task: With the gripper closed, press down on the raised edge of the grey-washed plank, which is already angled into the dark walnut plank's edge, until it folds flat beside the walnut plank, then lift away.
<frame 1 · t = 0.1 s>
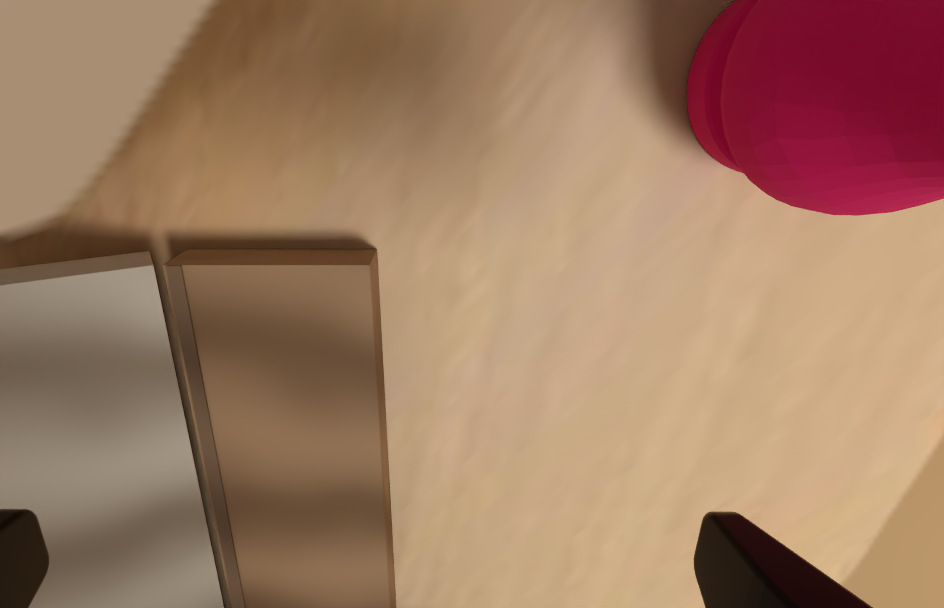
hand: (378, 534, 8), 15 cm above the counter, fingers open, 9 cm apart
pepper mill: (771, 81, 20), on the counter
grey plank: (106, 538, 22), point 3 cm above the counter, hinge at 30.0°
walnut plank: (310, 487, 25), on the counter
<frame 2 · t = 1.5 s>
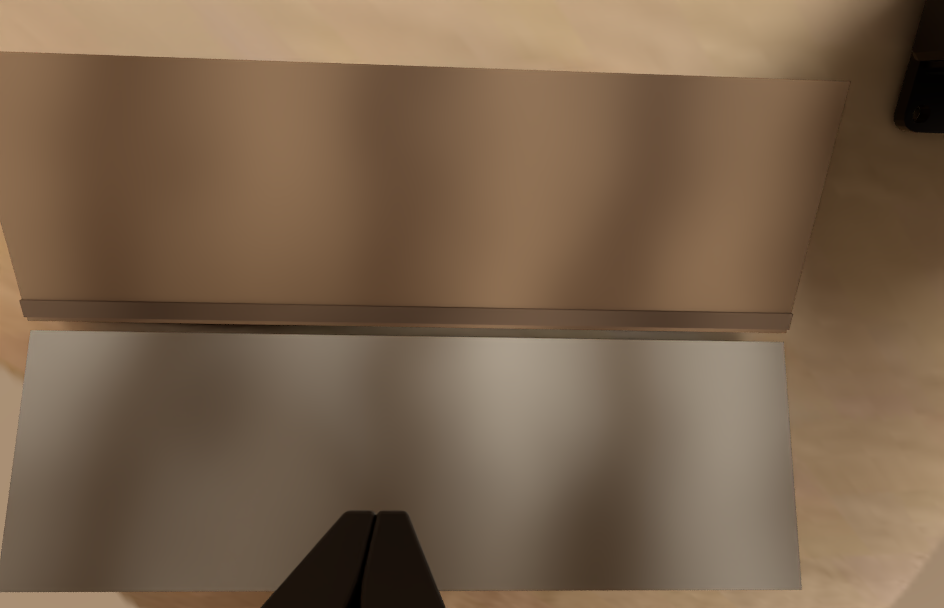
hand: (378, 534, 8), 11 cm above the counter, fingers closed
grey plank: (416, 455, 17), point 3 cm above the counter, hinge at 30.0°
walnut plank: (420, 194, 17), on the counter
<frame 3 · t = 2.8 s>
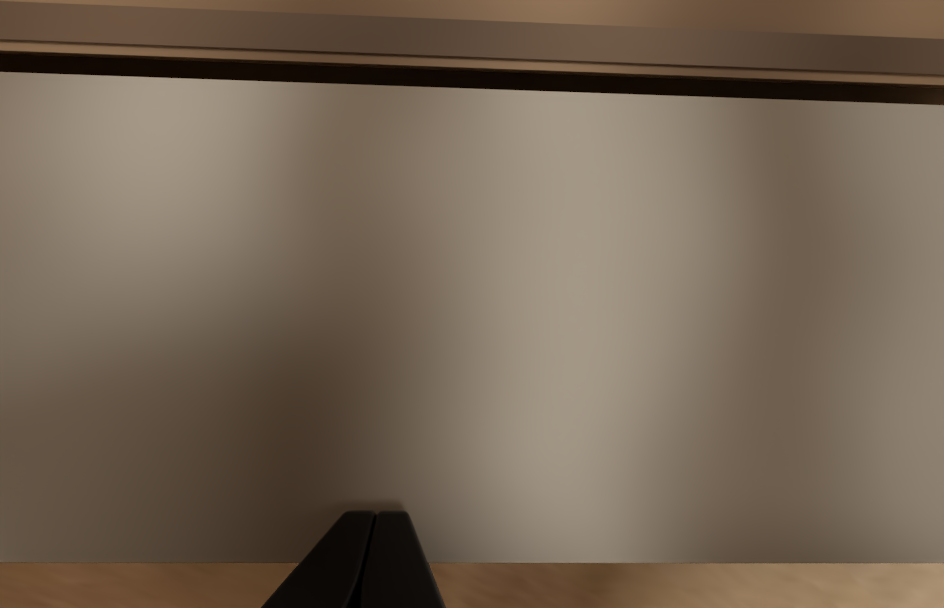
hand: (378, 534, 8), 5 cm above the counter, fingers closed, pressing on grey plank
grey plank: (392, 317, 9), point 3 cm above the counter, hinge at 30.0°, touching gripper
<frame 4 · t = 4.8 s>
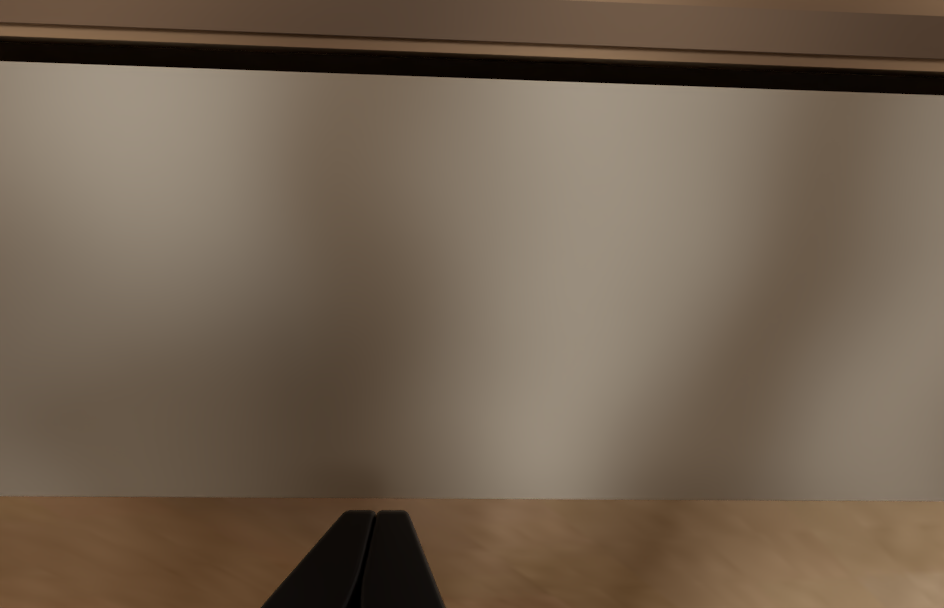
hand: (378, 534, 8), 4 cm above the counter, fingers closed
grey plank: (401, 295, 10), point 1 cm above the counter, hinge at -0.6°
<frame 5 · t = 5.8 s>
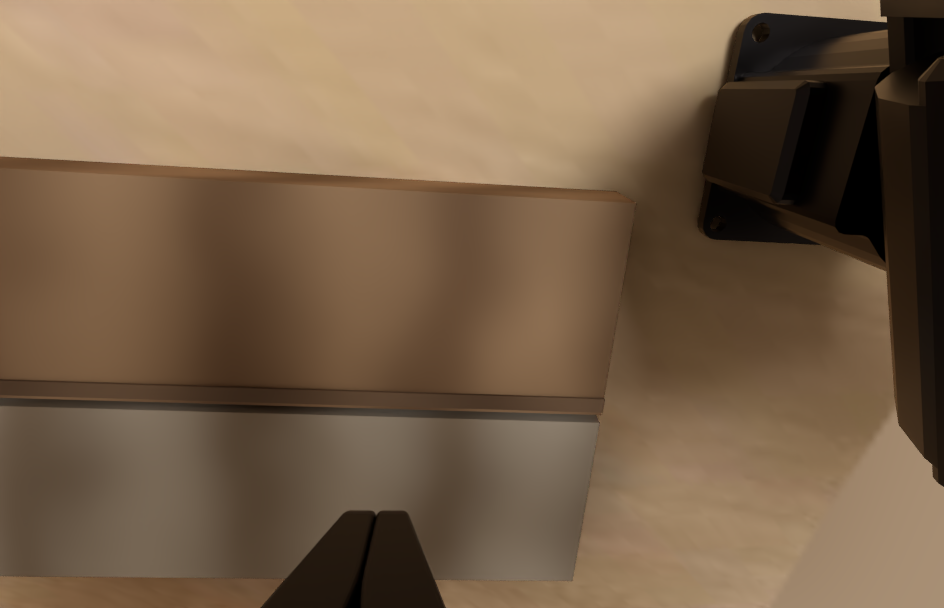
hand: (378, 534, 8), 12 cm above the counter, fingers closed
grey plank: (276, 482, 20), point 1 cm above the counter, hinge at -0.6°
walnut plank: (270, 280, 18), on the counter
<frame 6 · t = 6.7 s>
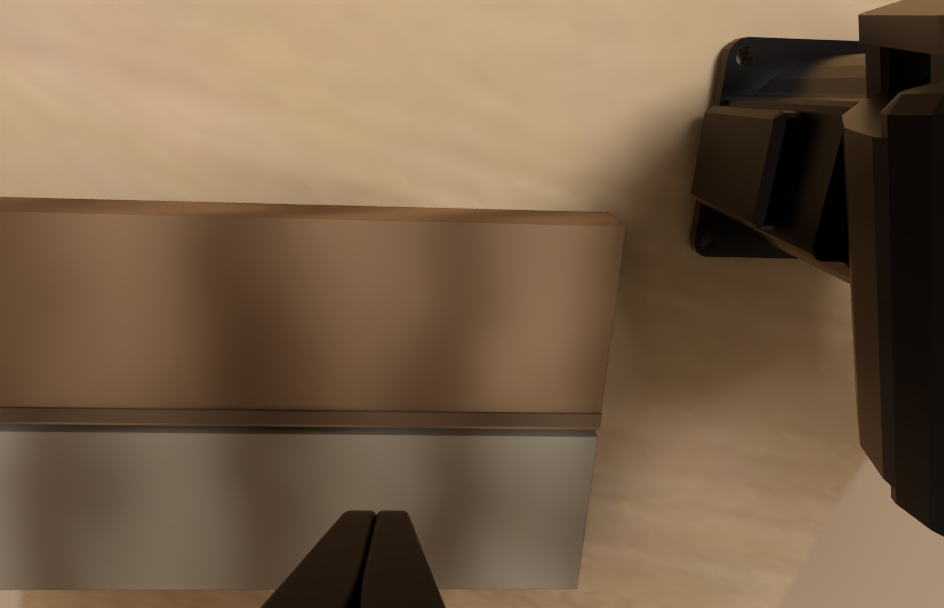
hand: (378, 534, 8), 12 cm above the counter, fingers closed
grey plank: (288, 497, 21), point 1 cm above the counter, hinge at -0.6°
walnut plank: (277, 305, 19), on the counter
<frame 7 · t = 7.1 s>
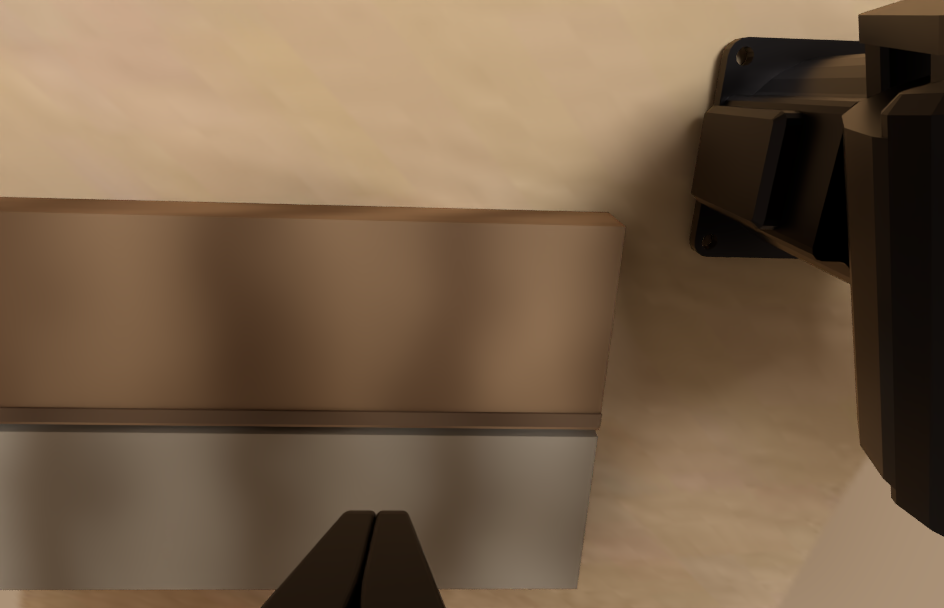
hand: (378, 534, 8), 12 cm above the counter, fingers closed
grey plank: (288, 497, 21), point 1 cm above the counter, hinge at -0.6°
walnut plank: (277, 305, 19), on the counter
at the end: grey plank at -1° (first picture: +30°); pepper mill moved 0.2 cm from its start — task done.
